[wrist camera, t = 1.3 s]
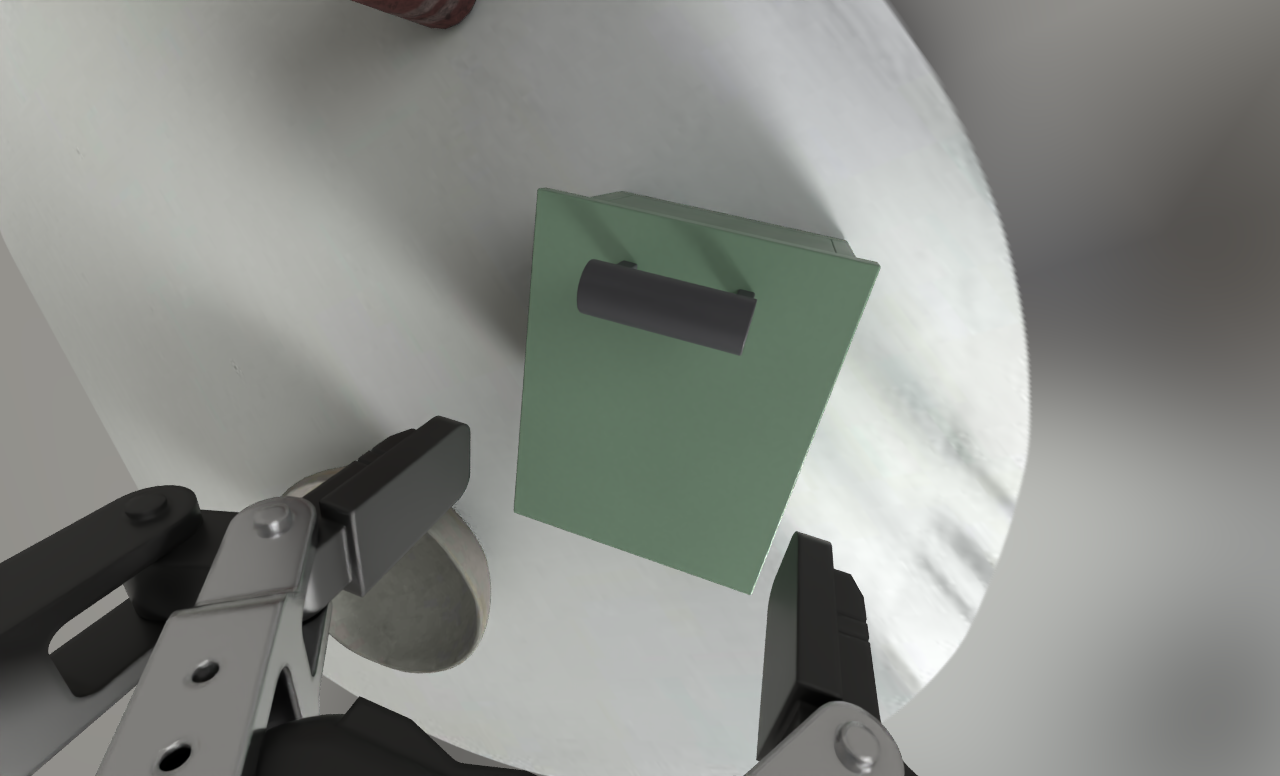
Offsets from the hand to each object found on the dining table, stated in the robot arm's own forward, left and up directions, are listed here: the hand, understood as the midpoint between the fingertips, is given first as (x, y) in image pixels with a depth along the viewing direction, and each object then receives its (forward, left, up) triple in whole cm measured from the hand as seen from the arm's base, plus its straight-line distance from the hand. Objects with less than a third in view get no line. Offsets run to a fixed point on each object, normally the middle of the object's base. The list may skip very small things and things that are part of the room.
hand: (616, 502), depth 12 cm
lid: (+4, +1, -12) cm, 13 cm away
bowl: (+38, 0, -24) cm, 45 cm away
